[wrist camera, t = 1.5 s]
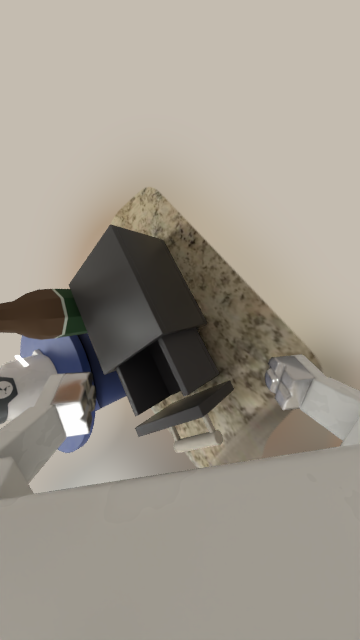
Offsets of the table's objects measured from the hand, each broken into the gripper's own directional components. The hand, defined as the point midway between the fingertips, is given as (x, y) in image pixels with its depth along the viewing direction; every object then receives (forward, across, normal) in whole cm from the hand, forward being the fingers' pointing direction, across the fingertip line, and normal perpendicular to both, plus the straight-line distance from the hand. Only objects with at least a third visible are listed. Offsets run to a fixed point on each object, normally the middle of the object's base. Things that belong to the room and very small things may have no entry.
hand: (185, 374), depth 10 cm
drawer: (+17, +4, -15) cm, 23 cm away
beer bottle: (+32, -8, -12) cm, 36 cm away
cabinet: (+25, 0, -8) cm, 26 cm away
